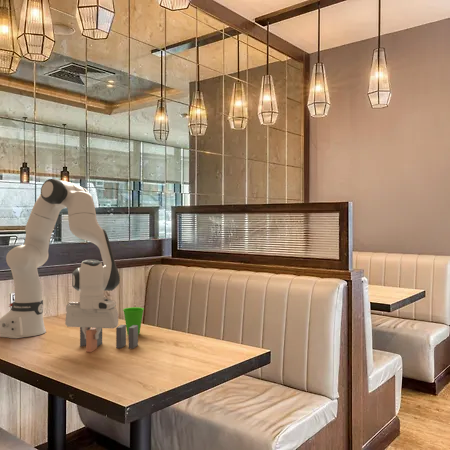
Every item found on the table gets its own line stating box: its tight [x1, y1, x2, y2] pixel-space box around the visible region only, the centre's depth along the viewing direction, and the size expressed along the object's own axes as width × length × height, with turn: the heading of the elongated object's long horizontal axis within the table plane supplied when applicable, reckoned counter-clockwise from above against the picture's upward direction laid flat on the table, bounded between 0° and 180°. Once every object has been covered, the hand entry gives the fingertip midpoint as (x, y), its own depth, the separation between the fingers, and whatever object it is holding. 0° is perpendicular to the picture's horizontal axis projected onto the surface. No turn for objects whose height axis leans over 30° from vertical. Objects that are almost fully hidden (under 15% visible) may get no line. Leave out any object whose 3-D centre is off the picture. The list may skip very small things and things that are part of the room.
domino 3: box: [97, 329, 103, 348], centre depth 181 cm, size 2×5×8 cm, turn 171°
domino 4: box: [115, 324, 127, 349], centre depth 179 cm, size 2×5×8 cm, turn 171°
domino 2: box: [85, 328, 98, 353], centre depth 173 cm, size 2×5×8 cm, turn 171°
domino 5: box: [128, 325, 139, 350], centre depth 178 cm, size 2×5×8 cm, turn 171°
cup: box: [122, 306, 145, 336], centre depth 198 cm, size 9×9×11 cm
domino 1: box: [79, 327, 91, 347], centre depth 181 cm, size 2×5×8 cm, turn 171°
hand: (91, 338), depth 173 cm, fingers closed on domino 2, 2 cm apart
